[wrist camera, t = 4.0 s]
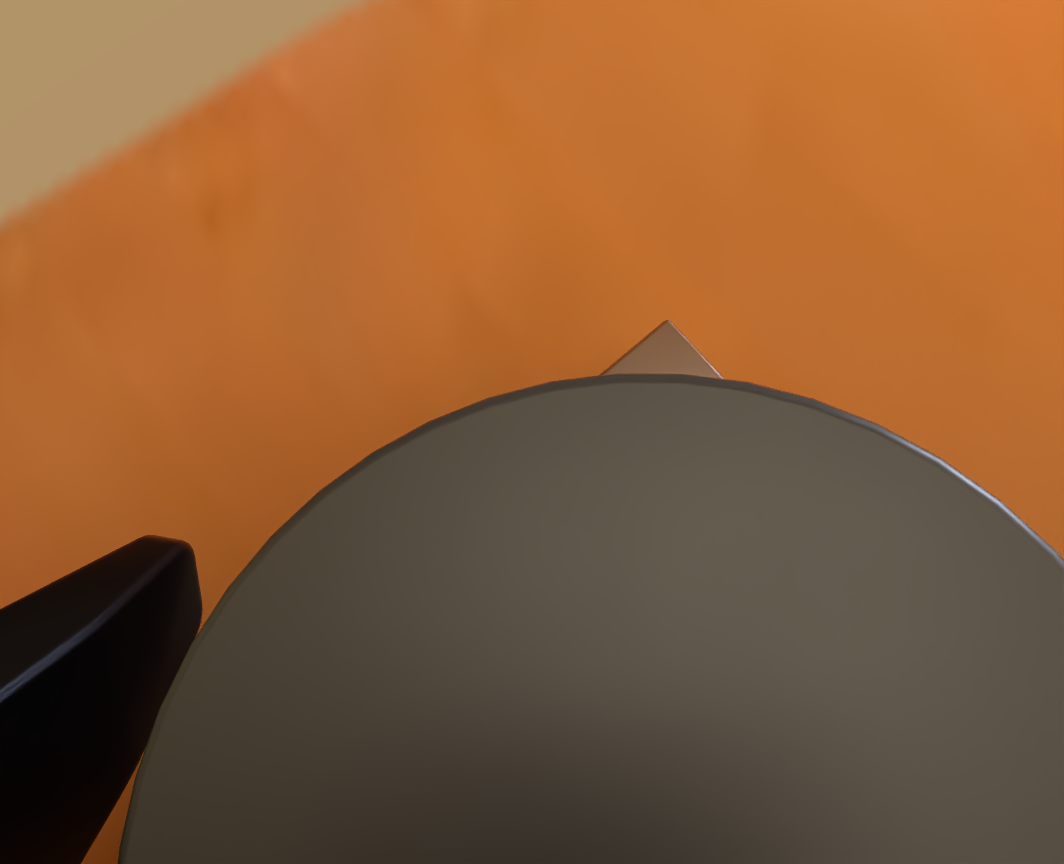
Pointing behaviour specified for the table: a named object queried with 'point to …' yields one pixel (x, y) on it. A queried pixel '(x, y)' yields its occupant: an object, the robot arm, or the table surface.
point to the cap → (625, 651)
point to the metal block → (663, 356)
